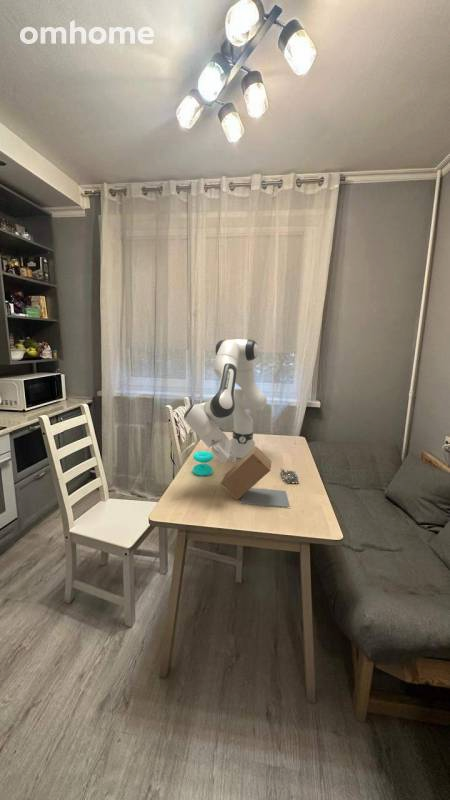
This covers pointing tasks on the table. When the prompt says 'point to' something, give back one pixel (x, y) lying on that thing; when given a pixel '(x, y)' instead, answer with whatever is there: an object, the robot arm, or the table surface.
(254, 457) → the wooden block
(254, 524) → the table surface
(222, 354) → the robot arm
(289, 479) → the egg carton
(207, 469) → the donuts
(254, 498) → the rubber mat
